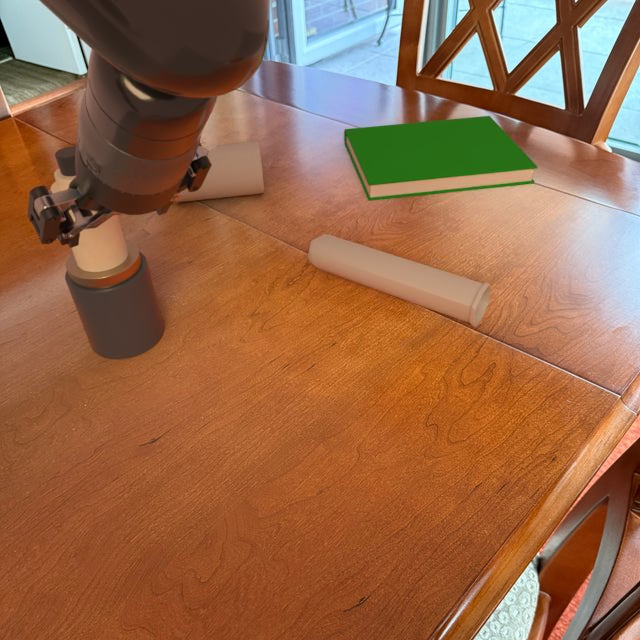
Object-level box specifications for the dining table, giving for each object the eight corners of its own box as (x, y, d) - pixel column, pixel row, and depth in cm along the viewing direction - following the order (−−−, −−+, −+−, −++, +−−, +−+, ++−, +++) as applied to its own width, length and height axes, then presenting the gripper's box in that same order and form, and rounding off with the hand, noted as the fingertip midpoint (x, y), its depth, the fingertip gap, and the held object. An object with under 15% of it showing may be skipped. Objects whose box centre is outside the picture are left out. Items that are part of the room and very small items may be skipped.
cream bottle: (87, 278, 64) (49, 170, 56) (69, 255, 67) (30, 150, 59) (136, 259, 66) (106, 152, 58) (116, 238, 70) (85, 135, 62)
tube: (296, 249, 80) (473, 310, 69) (317, 221, 82) (492, 275, 71) (306, 274, 84) (473, 334, 73) (325, 246, 86) (491, 301, 75)
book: (534, 183, 100) (537, 166, 98) (368, 200, 97) (368, 183, 95) (486, 129, 117) (488, 114, 115) (344, 143, 114) (344, 127, 112)
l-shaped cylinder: (138, 215, 94) (266, 201, 96) (124, 146, 89) (258, 133, 91) (150, 185, 109) (260, 174, 111) (138, 126, 104) (253, 115, 106)
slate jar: (106, 370, 69) (77, 292, 62) (79, 330, 75) (49, 254, 68) (176, 337, 73) (157, 260, 66) (146, 302, 79) (124, 227, 72)
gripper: (205, 66, 43) (166, 161, 58) (2, 118, 37) (15, 209, 52) (252, 159, 44) (201, 230, 58) (58, 226, 37) (55, 287, 52)
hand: (114, 220), depth 55 cm, fingers open, 8 cm apart
